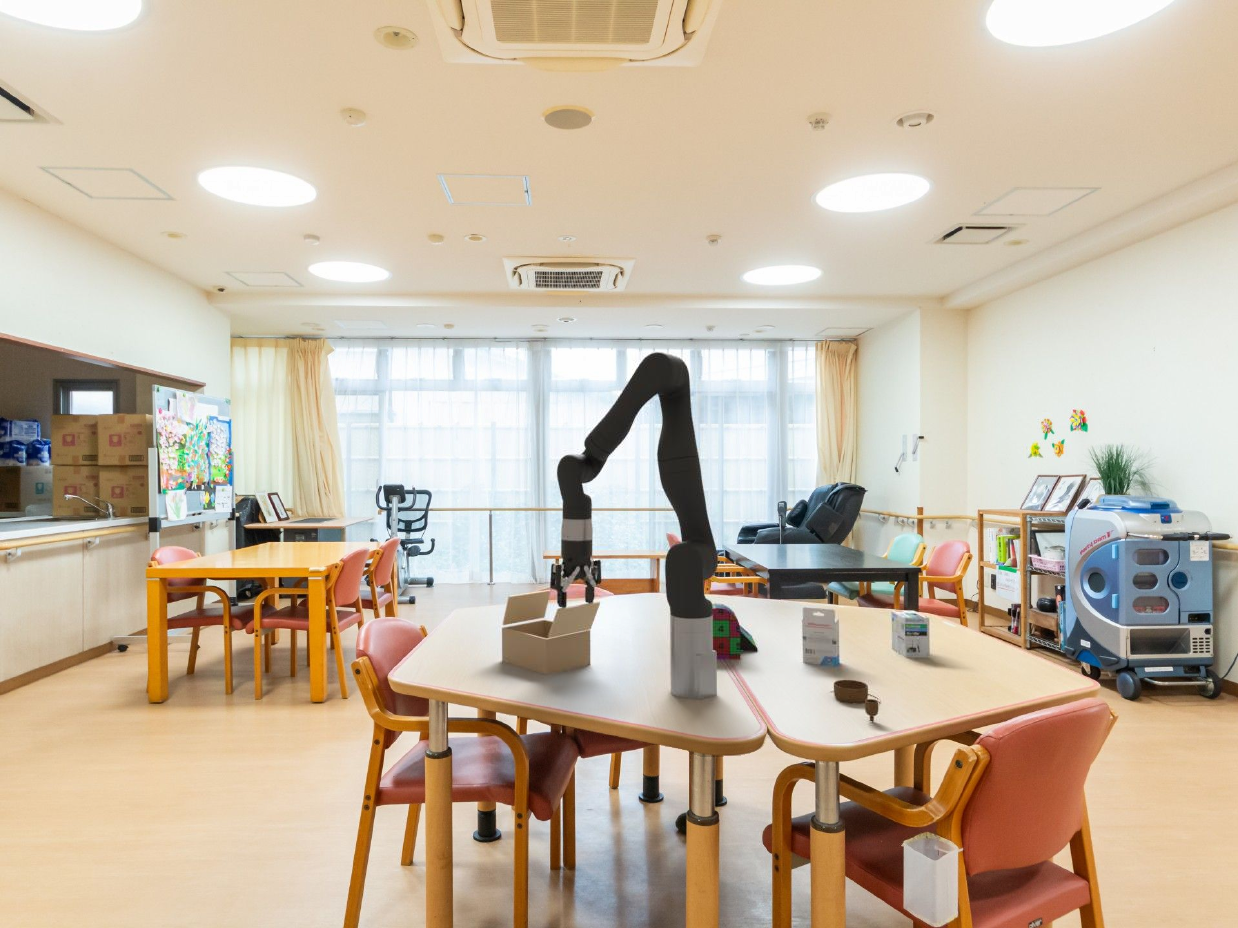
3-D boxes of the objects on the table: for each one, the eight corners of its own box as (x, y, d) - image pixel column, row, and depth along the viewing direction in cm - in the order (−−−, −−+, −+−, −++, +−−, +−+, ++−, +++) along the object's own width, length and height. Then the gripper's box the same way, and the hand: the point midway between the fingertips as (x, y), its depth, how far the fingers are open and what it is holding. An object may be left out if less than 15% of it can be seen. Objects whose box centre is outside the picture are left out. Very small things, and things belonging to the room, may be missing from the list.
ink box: (840, 664, 188) (839, 606, 188) (836, 669, 183) (836, 609, 183) (806, 660, 192) (806, 603, 192) (802, 664, 187) (801, 606, 187)
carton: (590, 669, 183) (590, 629, 183) (546, 681, 174) (546, 639, 174) (545, 656, 196) (545, 619, 196) (502, 666, 187) (501, 627, 187)
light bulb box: (930, 658, 193) (930, 617, 193) (904, 658, 193) (904, 617, 193) (915, 648, 204) (914, 609, 204) (890, 648, 204) (890, 609, 204)
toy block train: (761, 662, 190) (761, 608, 190) (695, 661, 192) (695, 607, 192) (751, 640, 215) (751, 591, 215) (693, 639, 216) (693, 591, 217)
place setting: (900, 706, 156) (900, 678, 156) (881, 735, 139) (880, 704, 139) (818, 693, 165) (818, 667, 165) (790, 719, 148) (790, 690, 148)
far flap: (550, 590, 194) (549, 589, 194) (509, 596, 185) (508, 595, 185) (544, 617, 196) (543, 616, 196) (503, 625, 187) (502, 624, 187)
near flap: (589, 627, 183) (590, 629, 183) (547, 636, 174) (549, 637, 174) (599, 601, 180) (600, 602, 180) (557, 608, 171) (558, 609, 171)
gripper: (564, 540, 169) (563, 611, 169) (609, 536, 179) (608, 603, 179) (543, 538, 174) (543, 606, 174) (588, 534, 184) (587, 598, 184)
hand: (576, 604), depth 176 cm, fingers open, 8 cm apart
